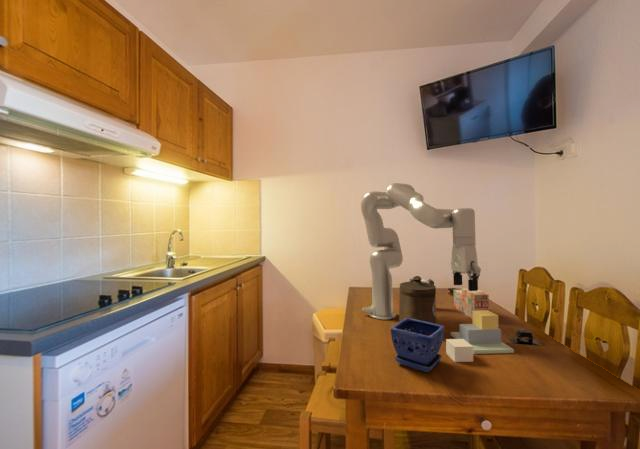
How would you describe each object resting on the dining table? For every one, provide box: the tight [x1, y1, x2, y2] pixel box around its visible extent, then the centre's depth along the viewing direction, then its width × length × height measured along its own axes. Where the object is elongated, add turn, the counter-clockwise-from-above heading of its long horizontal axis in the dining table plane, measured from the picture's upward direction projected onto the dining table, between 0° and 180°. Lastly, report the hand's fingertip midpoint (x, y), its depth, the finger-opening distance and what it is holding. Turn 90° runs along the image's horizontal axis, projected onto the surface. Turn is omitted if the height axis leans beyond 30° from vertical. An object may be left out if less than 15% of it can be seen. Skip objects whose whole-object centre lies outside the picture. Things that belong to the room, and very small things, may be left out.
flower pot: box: [390, 318, 445, 373], centre depth 91 cm, size 13×13×12 cm
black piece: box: [507, 329, 543, 347], centre depth 106 cm, size 12×7×5 cm, turn 75°
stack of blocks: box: [452, 287, 490, 320], centre depth 139 cm, size 21×6×12 cm, turn 179°
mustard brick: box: [472, 309, 499, 330], centre depth 105 cm, size 6×6×5 cm
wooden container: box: [398, 275, 437, 335], centre depth 121 cm, size 15×15×22 cm
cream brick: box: [445, 338, 474, 363], centre depth 95 cm, size 6×6×5 cm
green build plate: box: [450, 331, 515, 355], centre depth 105 cm, size 14×16×1 cm
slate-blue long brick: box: [459, 323, 502, 344], centre depth 105 cm, size 12×6×5 cm, turn 92°
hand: (465, 287), depth 105 cm, fingers open, 9 cm apart
